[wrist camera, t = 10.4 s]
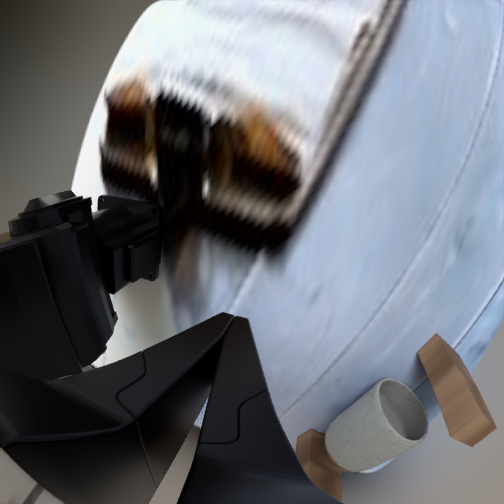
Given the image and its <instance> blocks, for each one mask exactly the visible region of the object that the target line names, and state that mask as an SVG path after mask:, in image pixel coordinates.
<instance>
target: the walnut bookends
mask: <svg viewBox="0 0 504 504" xmlns="http://www.w3.org/2000/svg"><path fill="white" fill-rule="evenodd" d="M417 353H418V355H419V357H420V360H421V362H422V364H423V366H424V369H425V371H426V373H427V376H428V378H429V381H430V383H431V386H432V388H433V391H434V393H435V396H436V398H437V401H438V403H439V406H440V409H441V412H442V414H443V417H444V420H445V423H446V426H447V429H448V432H449V435H450V437H452V438H454V439H456V440H458V441H460V442H462V443H465V444H467V445H469V446H471V447H473V446H474V445H475V444H477V443H478V442H479V441H481V440H482V439H484V438H485V437H486V436H487V435H489V434H490V433H491V432H492V431H494V430H495V429H496V428H497V427H496V425H495V423H494V421H493V418H492V416H491V414H490V412H489V410H488V408H487V406H486V404H485V402H484V400H483V398H482V396H481V394H480V392H479V390H478V388H477V386H476V384H475V382H474V380H473V379H472V377H471V375H470V373H469V371H468V370H467V368H466V366H465V364H464V363H463V361H462V359H461V358H460V356H459V355H458V354H457V353H456V352H455V351H454V350H453V349H452V348H451V347H450V346H449V345H448V344H447V343H446V342H445V341H444V340H443V339H442V338H441V337H440V336H439V335H438V334H437V333H436V334H435V335H434V336H433V337H432V338H431V339H430V340H429V341H428V342H427V343H426V344H425V345H424V346H423V347H422V348H421V349H420V350H419V351H418V352H417ZM296 456H297V458H298V460H299V462H300V463H301V465H302V467H303V469H304V471H305V472H306V474H307V475H308V477H309V478H310V479H311V480H312V482H313V483H314V484H315V485H317V486H318V487H319V488H320V489H322V490H323V491H325V492H326V493H328V494H329V495H331V496H332V497H334V498H335V499H337V500H338V501H340V502H341V495H342V494H341V493H342V469H341V468H339V467H338V466H337V465H336V464H335V463H334V462H333V461H332V460H331V459H330V457H329V455H328V453H327V451H326V447H325V434H322V433H320V432H318V431H316V430H314V429H311V430H309V431H307V432H306V433H304V434H302V435H300V436H298V437H297V445H296Z"/></svg>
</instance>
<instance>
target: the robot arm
mask: <svg viewBox="0 0 504 504" xmlns="http://www.w3.org/2000/svg"><path fill="white" fill-rule="evenodd" d="M103 200H104V203H103ZM91 205H92V200H91V197H88V198H83V196H76V195H75V194H74V193H73V192H72V191H71V190H69V191H64V192H60V193H56V194H52V195H48V196H44V197H40V198H36V199H32V200H30V201H29V202H28V204H27V206H26V208H25V209H24V211H23V212H21V213H19V214H18V216H17V217H15V218H13V219H11V220H9V221H8V224H9V230H10V231H9V232H6V233H4V234H1V235H0V504H149V502H150V500H151V499H152V497H153V495H154V494H155V492H156V490H157V489H156V488H158V487H159V485H160V483H161V481H162V480H163V478H164V476H165V474H166V473H167V471H168V469H169V467H170V466H171V464H172V462H173V460H174V459H175V457H176V455H177V453H178V451H179V449H180V448H181V446H182V444H183V442H184V441H185V438H186V437H187V435H188V433H189V432H190V430H191V428H192V426H193V424H194V422H195V421H196V419H197V417H198V415H199V413H200V411H201V409H202V408H203V406H204V404H205V402H206V400H207V398H208V396H209V398H208V402H207V406H206V410H205V414H204V418H203V423H202V427H201V431H200V435H199V439H198V444H197V447H196V451H195V455H194V459H193V462H192V465H191V468H190V471H189V473H188V476H187V478H186V481H185V484H184V486H183V489H182V491H181V494H180V497H179V499H178V502H177V504H343V503H341V502H340V501H338V500H337V499H335V498H334V497H332V496H331V495H329V494H328V493H326V492H325V491H323V490H322V489H320V488H319V487H318V486H317V485H315V484H314V483H313V482H312V480H311V479H310V478H309V477H308V475H307V474H306V472H305V471H304V469H303V467H302V465H301V463H300V462H299V460H298V458H297V456H296V454H295V452H294V450H293V448H292V446H291V444H290V442H289V440H288V438H287V436H286V434H285V432H284V430H283V428H282V426H281V424H280V421H279V419H278V417H277V414H276V411H275V409H274V406H273V403H272V400H271V396H270V393H269V391H268V386H267V383H266V379H265V376H264V372H263V369H262V365H261V362H260V358H259V355H258V351H257V348H256V344H255V341H254V337H253V333H252V330H251V326H250V322H249V320H248V319H247V318H243V317H239V316H236V317H235V316H234V315H232V314H228V313H224V312H222V313H219V314H217V315H215V316H213V317H211V318H209V319H207V320H205V321H203V322H201V323H199V324H197V325H195V326H193V327H191V328H189V329H187V330H185V331H183V332H181V333H179V334H177V335H175V336H172V337H170V338H168V339H166V340H164V341H162V342H160V343H158V344H155V345H153V346H151V347H149V348H147V349H145V350H143V351H140V352H138V353H136V354H134V355H131V356H129V357H127V358H124V359H122V360H119V361H117V362H114V363H111V364H108V365H105V366H102V367H99V368H96V369H93V370H90V371H86V372H83V369H82V368H83V367H86V366H88V365H90V364H91V363H93V362H94V361H96V360H97V359H98V358H99V357H100V356H101V355H102V354H103V353H104V352H105V351H106V349H107V346H106V343H107V342H108V340H109V339H110V337H111V336H112V334H113V331H114V326H115V324H116V322H117V320H118V317H117V314H116V311H114V308H113V305H112V302H111V298H110V294H115V293H117V292H118V291H119V290H120V289H122V288H123V287H124V286H126V285H127V284H128V283H134V282H136V281H137V280H138V279H140V278H143V279H146V280H150V281H155V280H156V279H157V278H158V272H159V263H160V262H161V246H162V233H161V220H162V208H161V206H160V205H158V204H153V203H148V202H143V201H137V200H132V199H126V198H121V197H115V196H110V195H101V196H99V198H98V210H97V211H96V212H93V213H92V210H91ZM154 208H155V209H156V210H157V214H156V213H155V212H154ZM151 273H152V274H153V276H154V277H153V276H152V275H151ZM109 293H110V294H109ZM82 372H83V373H82ZM69 375H72V376H69ZM64 376H69V377H65V378H61V377H64ZM58 378H61V379H58ZM55 379H56V380H55Z"/></svg>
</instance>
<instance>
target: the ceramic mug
mask: <svg viewBox="0 0 504 504" xmlns="http://www.w3.org/2000/svg"><path fill="white" fill-rule="evenodd" d="M427 432H428V419H427V415H426V412H425V410H424V407H423V405H422V403H421V402H420V400H419V399H418V397H417V396H416V395H415V394H414V392H413V391H412V390H411V389H410V388H409V387H408V386H406V385H405V384H403V383H402V382H400V381H398V380H396V379H393V378H384V379H382V380H380V381H379V382H378V383H376V384H375V385H374V386H373V387H372V388H371V389H370V390H369V391H368V392H366V393H365V394H364V395H363V396H362V397H361V398H359V399H358V400H357V401H356V402H355V403H354V404H352V405H351V406H350V407H349V408H347V409H346V410H345V411H343V412H342V413H341V414H339V415H338V416H337V417H336V418H335V419H334V420H333V421H332V422H331V423H330V425H329V426H328V428H327V430H326V433H325V447H326V451H327V453H328V455H329V457H330V459H331V460H332V461H333V462H334V463H335V464H336V465H337V466H338V467H339V468H341V469H343V470H345V471H349V472H360V471H365V470H368V469H371V468H373V467H376V466H378V465H380V464H382V463H384V462H386V461H388V460H390V459H392V458H394V457H396V456H398V455H400V454H401V453H403V452H405V451H407V450H409V449H411V448H412V447H414V446H416V445H418V444H419V443H421V442H422V441H423V440H424V439H425V437H426V435H427Z"/></svg>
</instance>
